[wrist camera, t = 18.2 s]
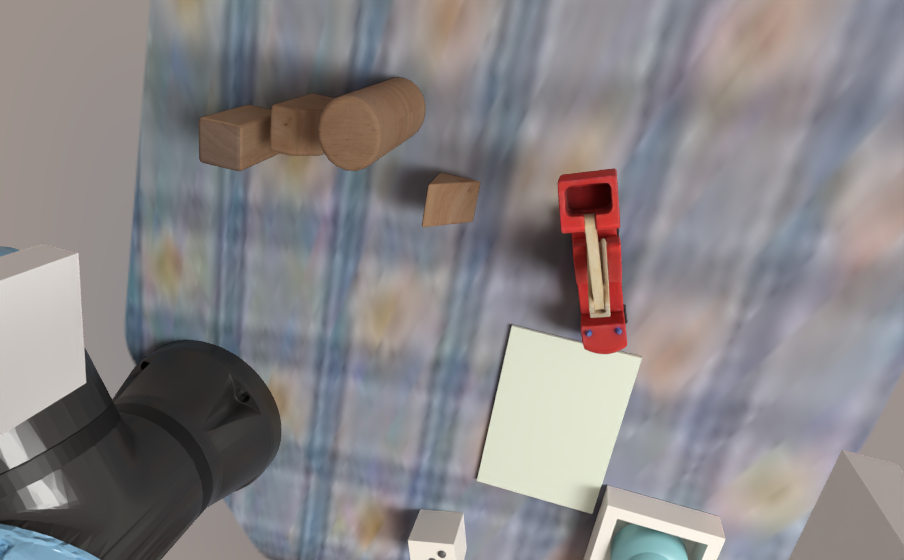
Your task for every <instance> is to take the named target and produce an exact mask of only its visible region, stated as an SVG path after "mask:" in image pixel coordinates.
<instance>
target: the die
mask: <svg viewBox="0 0 904 560" xmlns="http://www.w3.org/2000/svg"><path fill="white" fill-rule="evenodd" d="M408 544H409V552H410V559H411V560H464V557H465V553H466V550H467V547H466V537H465V526H464V516H463V513H460V512H447V511H435V510H422V509H420V511H419V514H418V516H417V519H416V521H415V524H414V526H413V529H412V531H411V534H410V536H409V539H408Z"/></svg>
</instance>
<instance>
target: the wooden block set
mask: <svg viewBox="0 0 904 560" xmlns="http://www.w3.org/2000/svg"><path fill="white" fill-rule="evenodd" d="M424 117H425V102H424V98H423V95H422V93H421V91H420V90H419V88H418V87H417V86H416V85H415V84H414V83H413V82H412V81H410V80H407V79H405V78H393V79H390V80H387V81H384V82H381V83H378V84H375V85H372V86H369V87H366V88H363V89H360V90H357V91H354V92H351V93H348V94H345V95H342V96H339V97H337V98H332V97H327V96H323V95H318V94H313V93H312V94H308V95H305V96H301V97H298V98H295V99H291V100H288V101H284V102H281V103H278V104H274V105H272V108H271V110H270V109H266V108H261V107H257V106H252V105H245V106H241V107H237V108H233V109H230V110H226V111H222V112H219V113H215V114H211V115H208V116H204V117H201V118H200V119H199V159H200V161H201V162H202V163H206V164H210V165H214V166H219V167H223V168H227V169H231V170H236V171H242V170H244V169H246V168H248V167H251V166H253V165H255V164H257V163H260V162H262V161H264V160H266V159H268V158H271V157H273V156H275V155H277V154H279V153H281V154H286V155H290V156H319V155H322V154H324V153H325V155H326V156H327V158H328V159H329V160H330V161H331V162H332V163H333V164H335V165H336V166H337V167H340V168H342V169H344V170H347V171H358V170H361V169H364V168H366V167H368V166H369V165H370V164H372V163H373V162H375V161H376V160H378V159H379V158H381V157H382V156H384V155H385V154H387V153H388V152H390V151H391V150H393V149H394V148H395V147H397V146H398V145H400V144H401V143H403V142H404V141H406V140H407V139H409V138H410V137H412V136H413V135H414V134H415V133H416V132H418V130H419V129H420V127H421V126H422V124H423V121H424ZM479 188H480V181H476V180H472V179H467V178H463V177H459V176H454V175H450V174H445V173H439V174H438V175H437V176H436V177H435V178H434V180H433V181H432V182H431V183H430V184H429V185H428V189H427V196H426V202H425V209H424V215H423V222H422V227H429V226H438V225H447V224H456V223H465V222H472V221H473V219H474V214H475V208H476V203H477V198H478V193H479Z"/></svg>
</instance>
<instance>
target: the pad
mask: <svg viewBox="0 0 904 560" xmlns="http://www.w3.org/2000/svg"><path fill="white" fill-rule="evenodd" d="M641 360H642V357H641V356H637V355H633V354H629V353H625V352H621V351H618V352H615V353H612V354H597V353H593V352H590V351H587V350H585V349H584V346H583V342H581V341H577V340H573V339H569V338H565V337H561V336H557V335H553V334H549V333H544V332H540V331H536V330H532V329H528V328H524V327H520V326H516V325H512V327H511V332H510V336H509V341H508V345H507V349H506V354H505V358H504V363H503V367H502V372H501V376H500V380H499V385H498V389H497V394H496V398H495V403H494V407H493V412H492V416H491V420H490V425H489V429H488V434H487V438H486V443H485V447H484V451H483V456H482V460H481V465H480V469H479V474H478V478H477V481H479V482H483V483H486V484H490V485H493V486H497V487H500V488H503V489H507V490H510V491H514V492H517V493H521V494H524V495H528V496H531V497H535V498H538V499H541V500H545V501H548V502H552V503H555V504H559V505H562V506H566V507H569V508H573V509H576V510H579V511H583V512H586V513H590V514H592V513H593V510H594V507H595V504H596V501H597V498H598V495H599V491H600V488H601V485H602V482H603V479H604V476H605V473H606V469H607V466H608V463H609V460H610V457H611V454H612V451H613V448H614V444H615V441H616V438H617V435H618V432H619V429H620V426H621V422H622V419H623V416H624V413H625V410H626V407H627V404H628V400H629V397H630V394H631V391H632V388H633V385H634V382H635V379H636V375H637V372H638V369H639V366H640V363H641Z"/></svg>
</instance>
